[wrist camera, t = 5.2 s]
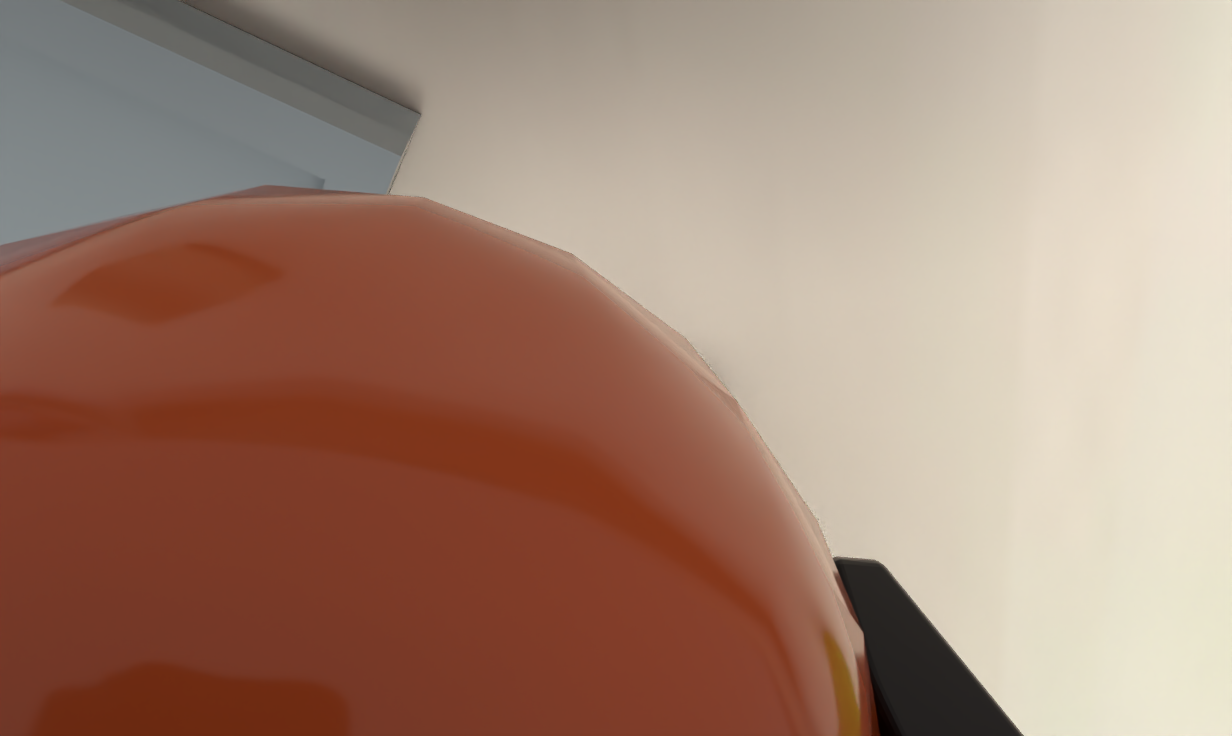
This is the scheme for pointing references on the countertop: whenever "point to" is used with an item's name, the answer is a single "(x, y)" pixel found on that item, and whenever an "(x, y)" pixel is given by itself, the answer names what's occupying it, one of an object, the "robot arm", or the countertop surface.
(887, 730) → the robot arm
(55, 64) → the dish
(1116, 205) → the countertop surface
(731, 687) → the tomato
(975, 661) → the countertop surface
